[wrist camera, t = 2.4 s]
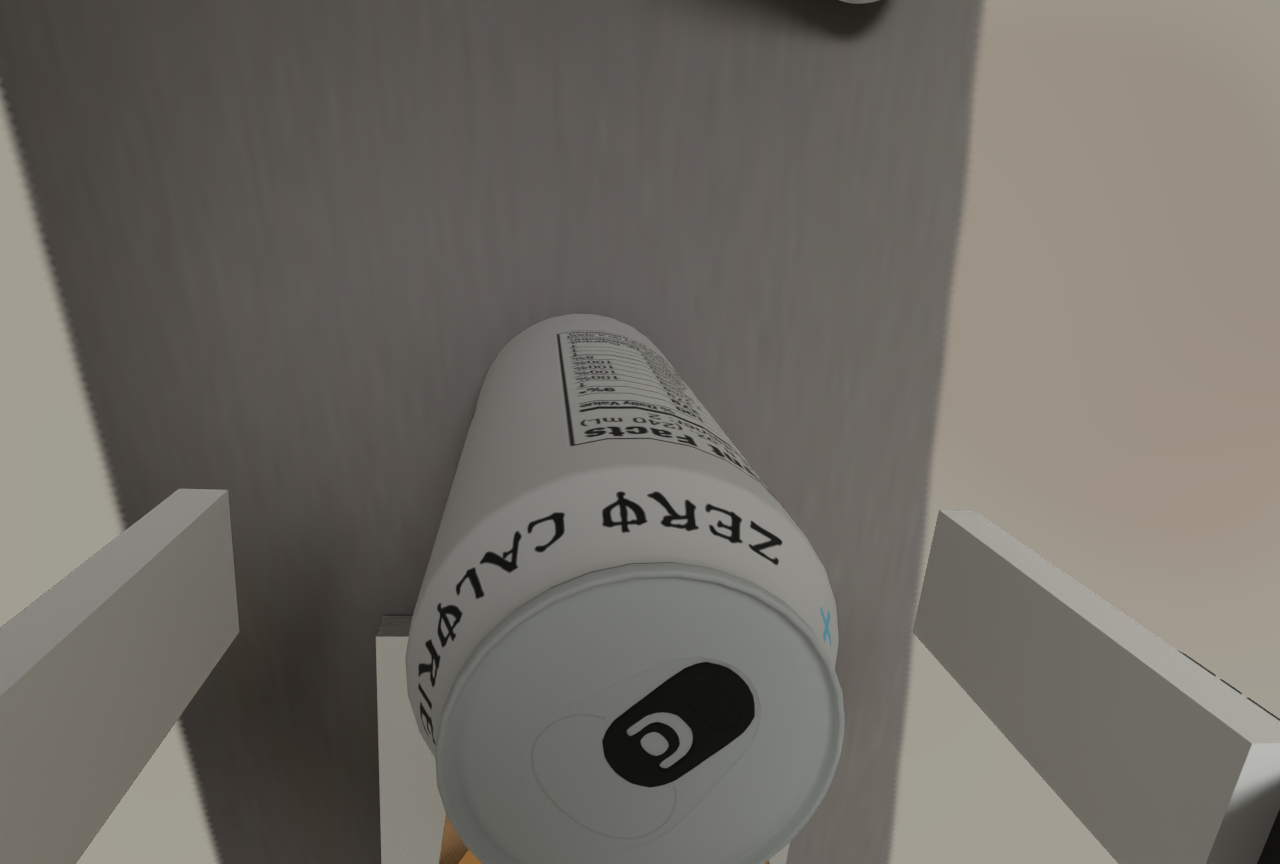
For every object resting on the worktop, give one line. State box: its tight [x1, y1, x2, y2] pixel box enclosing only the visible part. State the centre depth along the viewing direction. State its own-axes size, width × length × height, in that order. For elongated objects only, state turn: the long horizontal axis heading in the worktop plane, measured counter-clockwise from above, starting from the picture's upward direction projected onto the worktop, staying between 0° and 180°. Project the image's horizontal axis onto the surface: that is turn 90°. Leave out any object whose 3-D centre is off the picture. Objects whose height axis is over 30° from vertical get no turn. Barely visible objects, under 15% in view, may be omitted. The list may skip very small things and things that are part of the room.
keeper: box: [376, 616, 790, 864], centre depth 25 cm, size 15×15×5 cm
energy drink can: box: [405, 314, 845, 864], centre depth 15 cm, size 6×6×15 cm
